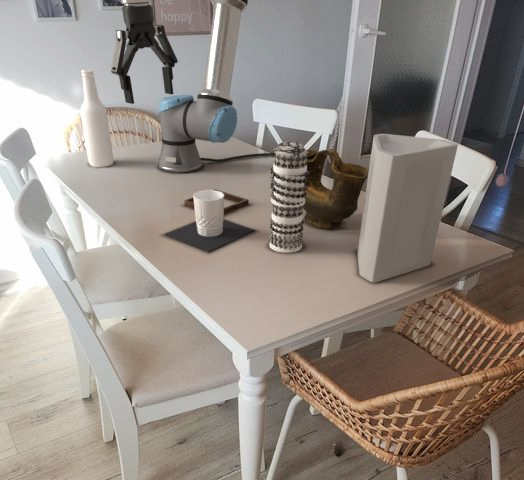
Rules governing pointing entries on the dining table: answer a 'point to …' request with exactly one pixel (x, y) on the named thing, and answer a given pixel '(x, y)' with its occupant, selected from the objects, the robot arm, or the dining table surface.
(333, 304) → the dining table surface
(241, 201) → the wooden frame
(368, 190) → the white triangular vase
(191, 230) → the mat
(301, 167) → the decorative candle
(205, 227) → the white cup
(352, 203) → the pottery vessel
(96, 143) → the alcohol
